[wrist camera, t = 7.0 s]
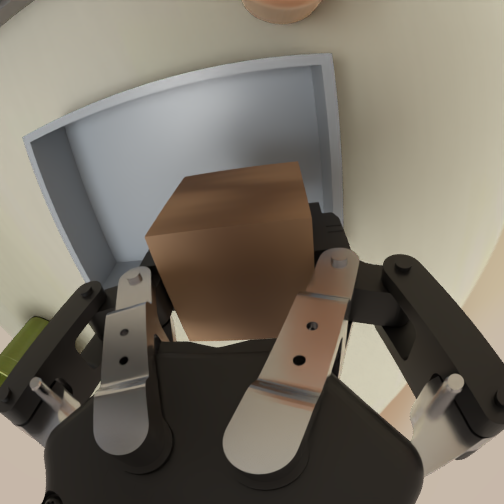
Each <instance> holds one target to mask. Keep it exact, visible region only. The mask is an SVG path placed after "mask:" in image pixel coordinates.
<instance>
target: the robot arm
mask: <svg viewBox="0 0 504 504" xmlns="http://www.w3.org/2000/svg"><path fill="white" fill-rule="evenodd" d="M308 204H309V208H310V212H311V216H312V229H313V246H314V268H315V270H314V272H313V275H312V277H311V280H310V282H309V285H308V287H307V290H306V292H302V291H300V292H299V293H298V294H297V296H296V298H295V300H294V303H293V305H292V307H291V309H290V311H289V314H288V316H287V318H286V320H285V323H284V325H283V327H282V329H281V331H280V333H279V336H278V338H272V339H256V340H248V341H244V342H240V343H236V344H232V345H228V346H224V347H217V348H216V347H211V346H206V345H201V344H197V343H192V342H177V341H176V334H175V327H174V321H173V319H172V317H171V313H172V311H175V309H174V306H173V304H172V302H171V300H170V298H169V295H168V293H167V291H166V288H165V286H164V284H163V281H162V279H161V277H160V274H159V272H158V270H157V267H156V265H155V262H154V260H153V258H152V255H151V253H150V250H148V252H147V253H146V255H145V257H144V258H143V260H142V262H141V264H140V266H139V267H135V268H132V269H130V270H128V271H127V272H125V273H124V274H123V275H122V276H121V278H120V279H119V282H118V286H115V287H111V288H108V289H105V290H104V289H103V287H102V285H101V283H100V282H98V281H90V282H87V283H85V284H83V285H82V286H80V287H79V288H78V289H77V290H76V291H75V292H74V294H73V295H72V296H71V297H70V298H69V299H68V300H67V302H66V303H65V304H64V305H63V306H62V307H61V309H60V310H59V311H58V312H57V313H56V314H55V316H54V317H53V318H52V319H51V320H50V322H49V323H48V324H47V325H46V327H45V328H44V329H43V330H42V331H41V333H40V334H39V335H38V337H37V338H36V339H35V340H34V342H33V343H32V344H31V345H30V347H29V348H28V349H27V351H26V352H25V353H24V355H23V356H22V357H21V359H20V360H19V361H18V363H17V364H16V365H15V367H14V368H13V370H12V371H11V372H10V374H9V375H8V377H7V378H6V379H5V381H4V382H3V384H2V385H1V387H0V413H1V414H3V415H4V416H5V417H6V418H8V419H9V420H10V421H11V422H12V423H13V424H14V425H15V426H16V427H18V428H19V429H20V430H22V431H23V432H25V433H26V434H27V435H29V436H30V437H31V438H33V439H35V440H36V441H38V442H39V443H40V444H41V445H42V446H43V447H44V448H45V450H44V460H45V469H46V492H45V497H44V500H43V502H42V504H415V503H416V500H417V498H418V496H419V494H420V492H421V489H422V485H423V479H424V477H425V476H427V475H429V474H431V473H433V472H435V471H436V470H438V469H440V468H441V467H443V466H445V465H446V464H448V463H450V462H451V461H453V460H461V459H465V458H467V457H468V456H470V455H471V454H472V453H474V452H475V451H477V450H478V449H479V448H481V447H482V446H483V445H485V444H486V443H487V442H489V441H490V440H491V439H492V438H494V437H495V436H496V435H497V434H499V433H500V432H501V431H502V430H504V363H503V362H502V361H501V359H500V358H499V357H498V355H497V354H496V352H495V351H494V350H493V348H492V347H491V346H490V344H489V343H488V342H487V340H486V339H485V338H484V337H483V335H482V334H481V333H480V331H479V330H478V329H477V327H476V326H475V325H474V324H473V322H472V321H471V320H470V319H469V318H468V316H467V315H466V314H465V313H464V312H463V310H462V309H461V308H460V307H459V306H458V304H457V303H456V302H455V301H454V300H453V299H452V297H451V296H450V295H449V294H448V293H447V292H446V291H445V289H444V288H443V287H442V286H441V285H440V284H439V283H438V282H437V281H436V279H435V278H434V277H433V276H432V275H431V274H430V273H429V272H428V271H427V270H426V269H425V268H424V266H423V265H422V264H421V263H420V262H419V261H418V260H416V259H415V258H413V257H411V256H408V255H403V254H397V255H392V256H389V257H388V258H386V259H385V261H384V263H383V266H382V265H373V264H368V263H364V262H362V261H360V260H359V256H358V255H357V254H356V253H355V252H354V251H352V250H351V249H350V246H349V243H348V240H347V237H346V235H345V232H344V229H343V227H342V224H341V221H340V219H339V217H338V216H336V215H335V214H334V213H332V212H328V213H322V211H321V208H320V205H319V202H314V203H308ZM353 322H359V323H366V324H373V325H375V328H376V330H377V331H378V333H379V335H380V336H381V338H382V340H383V341H384V343H385V345H386V346H387V348H388V350H389V352H390V353H391V355H392V357H393V358H394V360H395V362H396V364H397V365H398V367H399V369H400V370H401V372H402V374H403V376H404V378H405V379H406V381H407V383H408V385H409V386H410V388H411V390H412V392H413V394H414V395H415V397H416V399H417V400H416V401H415V403H414V404H413V406H412V408H411V412H410V420H411V423H412V427H413V436H412V439H411V441H409V440H408V439H407V438H406V437H404V436H403V435H402V434H401V433H400V432H398V431H397V430H396V429H395V428H394V427H393V426H392V425H390V424H389V423H388V422H387V421H386V420H385V419H384V418H382V417H381V416H380V415H379V414H378V413H377V412H375V411H374V410H373V409H372V408H371V407H370V406H369V405H368V404H366V403H365V402H364V401H363V400H362V399H361V398H360V397H359V396H357V395H356V394H355V393H354V392H353V391H352V390H351V389H350V388H349V387H347V386H346V385H345V384H344V383H343V382H342V381H341V380H340V376H341V372H342V367H343V362H344V358H345V354H346V350H347V346H348V342H349V338H350V334H351V330H352V326H353ZM88 323H89V325H90V326H91V328H92V329H93V331H94V332H95V333H96V334H95V335H94V336H93V338H92V339H91V340H90V342H89V343H88V344H87V346H86V347H85V349H84V350H83V351H82V353H81V354H79V353H78V352H77V350H76V348H75V341H76V339H77V337H78V336H79V334H80V333H81V332H82V330H83V329H84V328H85V327H86V325H87V324H88ZM100 381H101V385H100V388H99V389H98V390H97V391H96V392H95V394H94V395H93V396H92V397H91V398H90V396H91V395H92V393H93V392H94V390H95V388H96V387H97V385H98V384H99V382H100Z"/></svg>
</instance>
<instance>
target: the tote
mask: <svg viewBox="0 0 504 504" xmlns="http://www.w3.org/2000/svg"><path fill="white" fill-rule="evenodd" d="M22 138H23V141H24V144H25V147H26V150H27V153H28V156H29V159H30V162H31V165H32V168H33V170H34V173H35V176H36V179H37V181H38V184H39V186H40V189H41V191H42V194H43V196H44V199H45V201H46V204H47V206H48V208H49V211H50V213H51V215H52V217H53V220H54V222H55V224H56V226H57V228H58V230H59V233H60V235H61V237H62V239H63V241H64V243H65V245H66V247H67V249H68V251H69V253H70V255H71V257H72V259H73V261H74V262H75V264H76V266H77V268H78V270H79V272H80V274H81V275H82V277H83V279H84V281H85V283H87V282H90V281H98V282H100V283H101V285H102V287H103V289H104V290H105V289H108V288H111V287H115V286H118V282H119V279H120V278H121V276H122V275H123V274H124V273H125V272H127V271H128V270H130V269H132V268H135V267H139V266H140V264H141V262H142V260H143V258H144V257H145V255H146V253H147V252H148V250H149V248H148V245H147V242H146V240H145V235H146V234H147V232H148V230H149V229H150V227H151V226H152V224H153V223H154V221H155V220H156V218H157V216H158V215H159V213H160V212H161V210H162V209H163V207H164V206H165V204H166V203H167V201H168V200H169V198H170V197H171V196H172V194H173V193H174V191H175V190H176V188H177V187H178V185H179V184H180V183H181V181H182V180H183V178H184V177H186V176H192V175H198V174H204V173H210V172H217V171H223V170H230V169H237V168H244V167H252V166H260V165H268V164H277V163H286V162H296V161H298V163H299V167H300V171H301V175H302V179H303V183H304V187H305V191H306V195H307V199H308V203H314V202H319V205H320V208H321V211H322V213H328V212H332V213H334V214H335V215H336V216H338V217H339V219H340V221H341V224H342V227H343V176H342V154H341V137H340V123H339V111H338V100H337V90H336V81H335V73H334V65H333V57H332V53H319V54H302V55H289V56H279V57H270V58H262V59H255V60H248V61H242V62H236V63H230V64H224V65H219V66H214V67H209V68H205V69H200V70H196V71H192V72H187V73H183V74H179V75H176V76H172V77H168V78H165V79H161V80H158V81H154V82H151V83H148V84H144V85H141V86H138V87H135V88H132V89H129V90H126V91H123V92H121V93H118V94H115V95H112V96H110V97H107V98H104V99H102V100H99V101H97V102H94V103H92V104H90V105H87V106H85V107H82V108H80V109H78V110H76V111H73V112H71V113H69V114H67V115H65V116H62V117H60V118H58V119H56V120H54V121H52V122H50V123H48V124H46V125H44V126H42V127H40V128H38V129H36V130H35V131H33V132H31V133H29V134H27V135H25V136H24V137H22Z"/></svg>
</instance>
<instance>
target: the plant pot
mask: <svg viewBox="0 0 504 504" xmlns="http://www.w3.org/2000/svg"><path fill="white" fill-rule="evenodd" d="M48 323H49V322H48V321H47V320H45V319H42V318H38V317H33V318H31V319H30V320H29V321H28V322H27V323H26V324H25V326H24V327H23V328H22V329H21V330H20V331H19V333H18V334H17V335H16V336H15V337H14V338H13V340H12V341H11V342H10V343H9V344H8V346H7V347H6V348H5V349H4V350H3V352H2V353H1V354H0V387H1V385H2V384H3V382H4V381H5V379H6V378H7V377H8V375H9V374H10V372H11V371H12V370H13V368H14V367H15V365H16V364H17V363H18V361H19V360H20V359H21V357H22V356H23V355H24V353H25V352H26V351H27V349H28V348H29V347H30V345H31V344H32V343H33V342H34V340H35V339H36V338H37V337H38V335H39V334H40V333H41V331H42V330H43V329H44V328H45V327H46V325H47V324H48Z"/></svg>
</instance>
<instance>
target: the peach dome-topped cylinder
mask: <svg viewBox="0 0 504 504" xmlns="http://www.w3.org/2000/svg"><path fill="white" fill-rule="evenodd" d="M241 1H242V3H243V5H244V7H245V8H246V9H247V10H248V11H249V12H250V13H251V14H252V15H254V16H255V17H257V18H258V19H260V20H263V21H265V22H269V23H274V24H290V23H294V22H298V21H300V20H302V19H304V18H306V17H307V16H309V15H310V14H311V13H312V12H313V11H314V10H315V9H316V7H317V6H318V5H319V4H320V3H321V1H322V0H241Z"/></svg>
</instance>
